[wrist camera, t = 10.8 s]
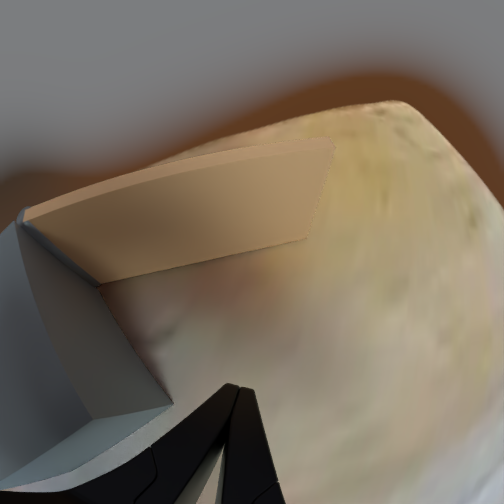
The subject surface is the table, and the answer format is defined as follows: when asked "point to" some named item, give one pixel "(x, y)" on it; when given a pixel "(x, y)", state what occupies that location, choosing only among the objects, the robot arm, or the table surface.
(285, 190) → the side door
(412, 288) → the table surface
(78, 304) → the camera case
